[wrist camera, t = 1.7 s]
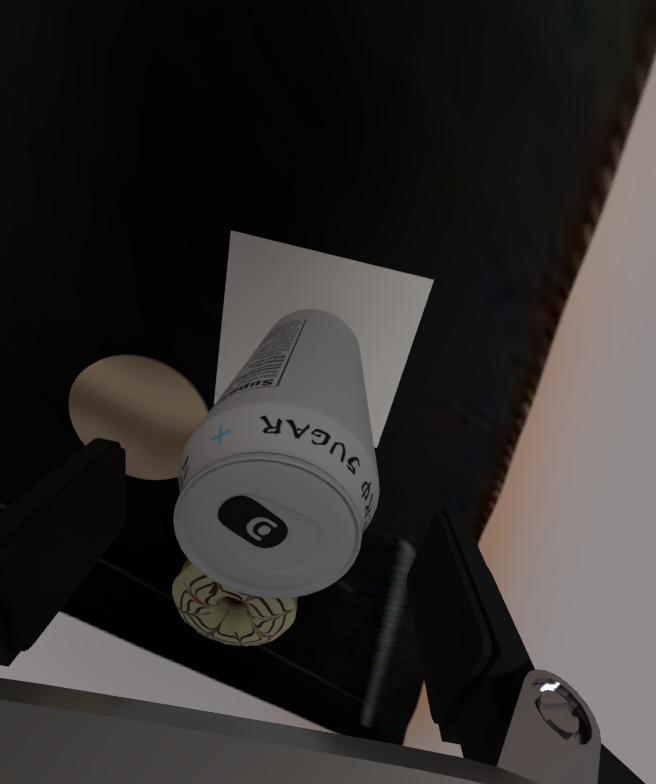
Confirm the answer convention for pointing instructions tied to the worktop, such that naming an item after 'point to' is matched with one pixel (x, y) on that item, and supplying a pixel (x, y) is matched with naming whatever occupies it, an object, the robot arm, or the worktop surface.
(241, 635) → the decorated donut
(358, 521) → the energy drink can
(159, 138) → the worktop surface
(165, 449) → the cork coaster
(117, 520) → the robot arm
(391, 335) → the tile
